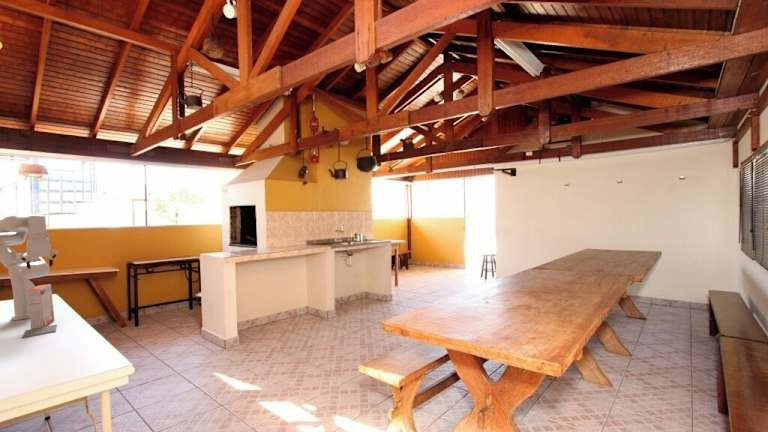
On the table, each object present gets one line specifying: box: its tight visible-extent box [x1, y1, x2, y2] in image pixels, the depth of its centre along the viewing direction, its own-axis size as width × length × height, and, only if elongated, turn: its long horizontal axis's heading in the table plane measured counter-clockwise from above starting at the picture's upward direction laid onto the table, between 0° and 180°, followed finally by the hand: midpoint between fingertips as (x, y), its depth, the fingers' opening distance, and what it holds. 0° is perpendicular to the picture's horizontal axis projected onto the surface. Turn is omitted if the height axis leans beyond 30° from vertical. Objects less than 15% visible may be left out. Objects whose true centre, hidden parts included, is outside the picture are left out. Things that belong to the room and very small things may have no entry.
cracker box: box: [27, 283, 55, 329], centre depth 199 cm, size 14×6×21 cm, turn 25°
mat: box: [21, 324, 58, 339], centre depth 187 cm, size 14×12×1 cm
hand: (40, 267), depth 208 cm, fingers open, 8 cm apart
